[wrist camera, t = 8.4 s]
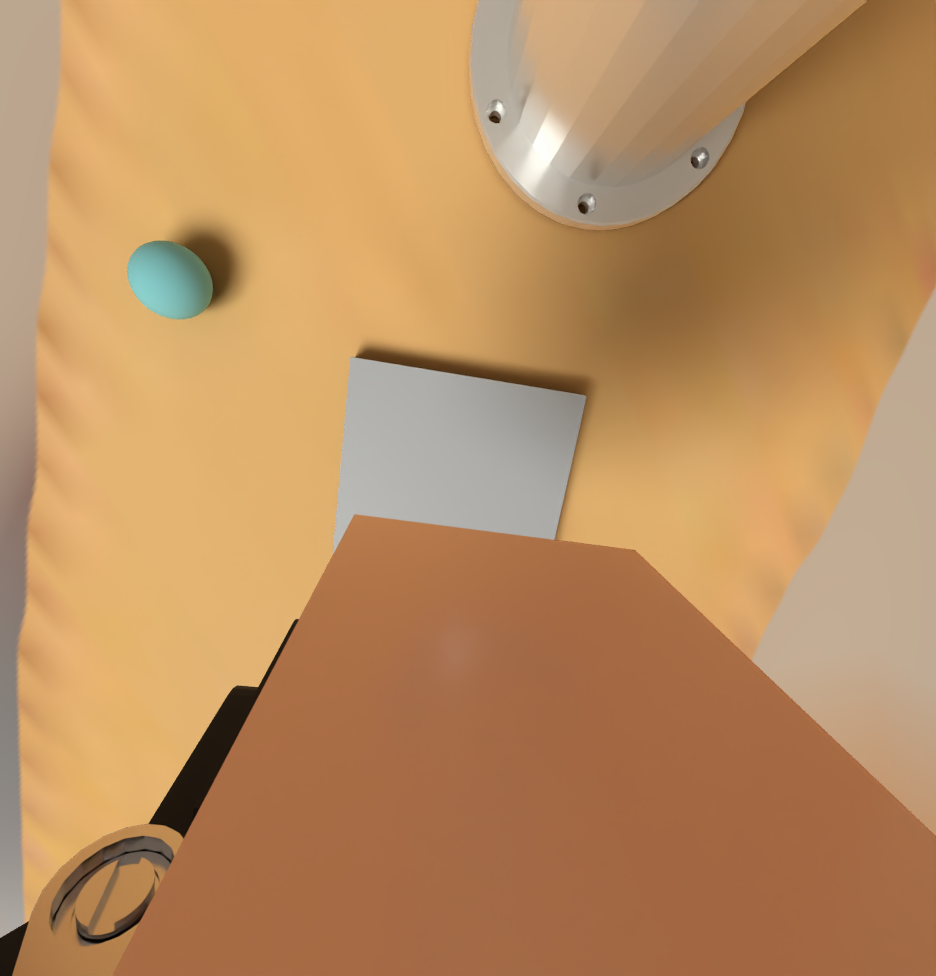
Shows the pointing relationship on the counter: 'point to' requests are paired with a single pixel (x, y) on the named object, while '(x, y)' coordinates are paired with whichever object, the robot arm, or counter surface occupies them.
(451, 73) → the counter surface
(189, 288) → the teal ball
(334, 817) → the peach rectangular block
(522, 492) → the slate board
